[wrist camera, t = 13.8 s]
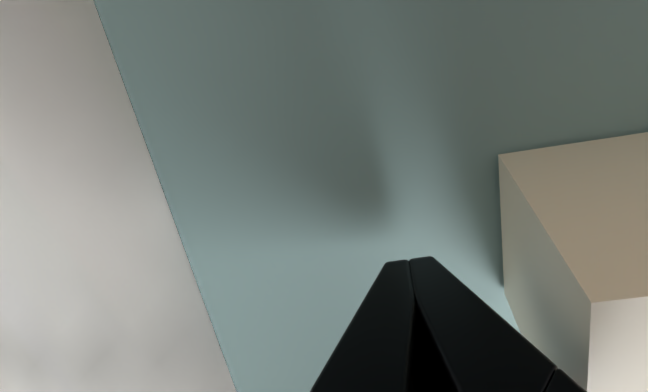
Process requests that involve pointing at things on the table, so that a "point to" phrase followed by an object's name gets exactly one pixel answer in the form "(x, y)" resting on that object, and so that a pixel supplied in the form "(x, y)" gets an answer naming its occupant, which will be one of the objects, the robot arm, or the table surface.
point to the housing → (356, 143)
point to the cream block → (580, 256)
